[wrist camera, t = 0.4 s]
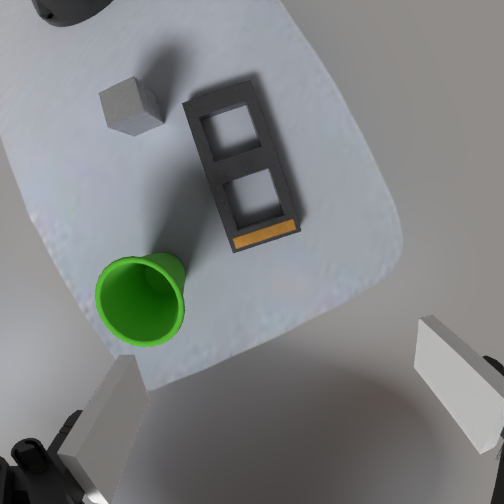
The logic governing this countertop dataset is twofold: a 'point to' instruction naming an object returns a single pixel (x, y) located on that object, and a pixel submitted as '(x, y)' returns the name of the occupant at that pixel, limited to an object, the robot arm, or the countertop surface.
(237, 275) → the countertop surface
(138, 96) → the gray squarish block
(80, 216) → the countertop surface
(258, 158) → the dark grey flat frame
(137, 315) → the cup
